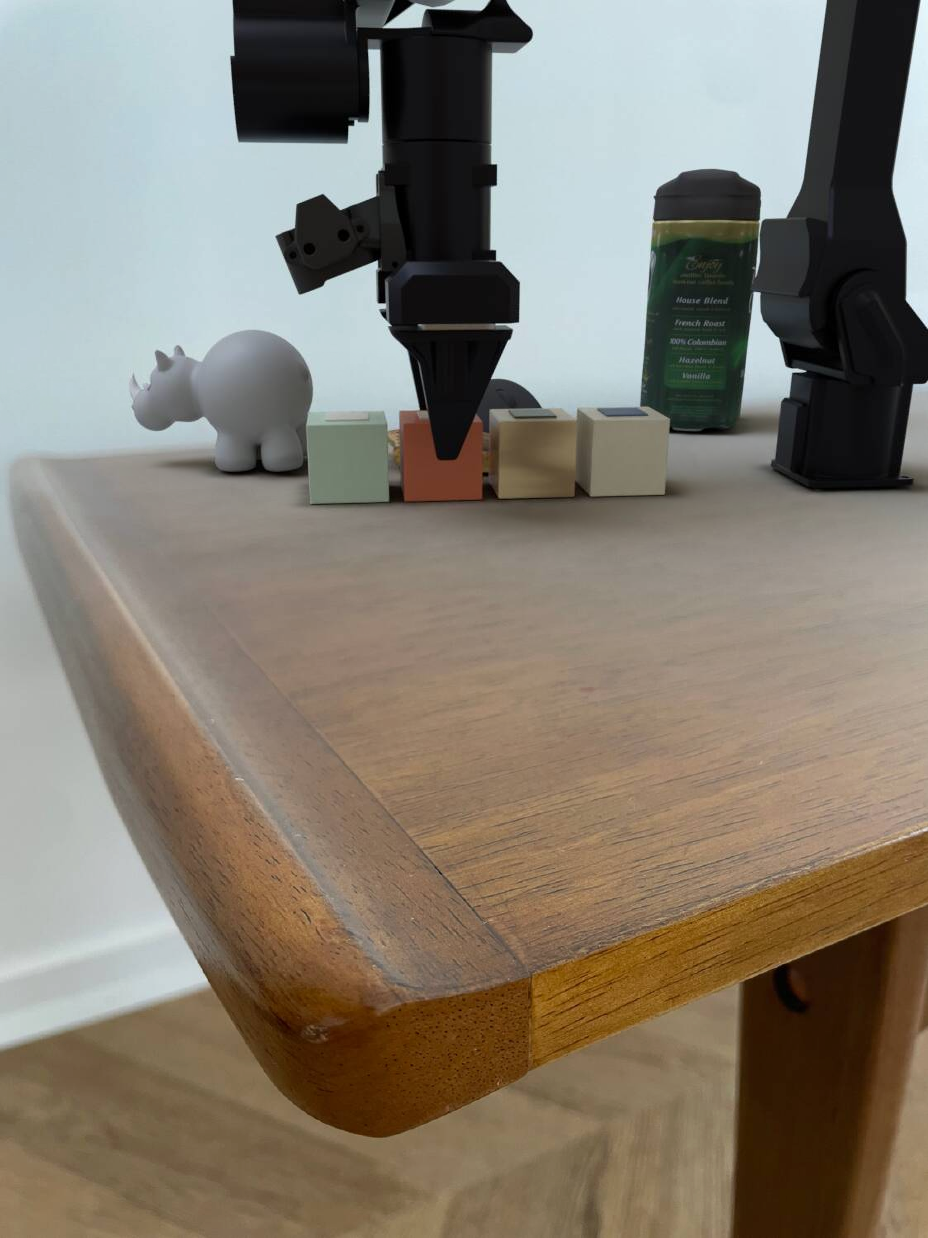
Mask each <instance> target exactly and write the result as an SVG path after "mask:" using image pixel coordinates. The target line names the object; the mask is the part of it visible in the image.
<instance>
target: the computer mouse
mask: <svg viewBox="0 0 928 1238" xmlns="http://www.w3.org/2000/svg"><path fill="white" fill-rule="evenodd" d="M537 408H543V407H542V406H541V403H540V402H539V401H538V400H537V398H536V397H535V396H534V395H533V394H532V393H531V392H530V391H529V390H528V389H526V388H525V387H524V386H522V385H521V384H519V383H517V382H515V381H513V380H509V379H505V378H491V380H490V382H489V385H488V387H487V389H486V392H485V394H484V396H483V399H482V401H481V403H480V406H479V408H478V410H477V413H476V414H477V416H478V417H479V418H480V420H481V421H482V422H483V432H486V433H489V411H490V409H537Z"/></svg>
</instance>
